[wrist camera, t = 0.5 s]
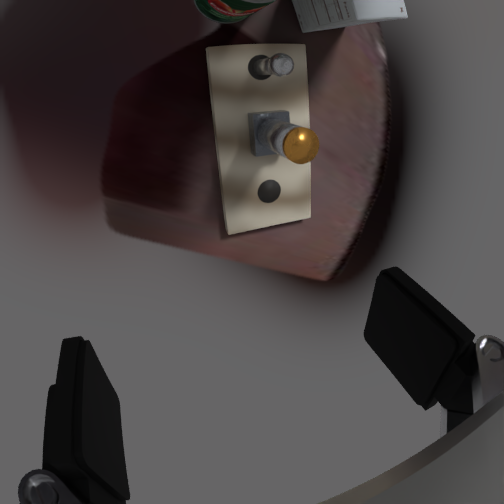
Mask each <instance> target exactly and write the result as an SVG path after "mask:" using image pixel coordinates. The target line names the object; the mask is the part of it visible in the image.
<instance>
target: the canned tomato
mask: <svg viewBox="0 0 504 504" xmlns="http://www.w3.org/2000/svg"><path fill="white" fill-rule="evenodd" d="M274 1H276V0H194V3H195V6H196V7H197V9H198V10H199V12H200V13H201V14H202V15H204V16H205V17H206V18H208V19H210V20H212V21H215V22H218V23H235V22H239V21H241V20H244V19H245V18H247V17H249V16H250V15H252V14H253V13H255V12H257V11H258V10H260V9H262V8H263V7H265V6H267V5H269V4H270V3H272V2H274Z"/></svg>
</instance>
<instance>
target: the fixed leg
mask: <svg viewBox="0 0 504 504" xmlns="http://www.w3.org/2000/svg"><path fill="white" fill-rule="evenodd" d="M293 69H294V62H293V60H292V58H291V57H290V56H289V55H287V54H284V53H277V54H274V55H273V56H272V57H270V58H265V59H260V60H257V61H256V62H255V63H254V64H253V70H254V72H255V73H256V74H258V75H275V76H278V77H285V76H287V75H289V74H290V73H291V72H292V71H293Z"/></svg>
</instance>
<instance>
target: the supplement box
mask: <svg viewBox="0 0 504 504" xmlns="http://www.w3.org/2000/svg"><path fill="white" fill-rule="evenodd" d="M292 2H293V5H294V8H295V11H296V14H297V18H298V21H299V24H300V27H301V30H302V32H303V33H306V32H313V31H321V30H328V29H335V28H341V27H347V26H353V25H358V24H364V23H371V22H379V21H386V20H394V19H405V18H408V16H407V12H406V8H405V4H404V0H292Z"/></svg>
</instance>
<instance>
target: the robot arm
mask: <svg viewBox="0 0 504 504" xmlns="http://www.w3.org/2000/svg"><path fill="white" fill-rule="evenodd" d="M474 337H475V334H474V333H473V332H471V331H470V330H469V329H468V328H467V327H466V326H465V325H464V324H463V323H462V322H461V321H460V320H458V319H457V318H456V317H455V316H454V315H453V314H452V313H451V312H450V311H449V310H447V309H446V308H445V307H444V306H443V305H442V304H441V303H440V302H438V301H437V300H436V299H435V298H434V297H433V296H432V295H430V294H429V293H428V292H427V291H426V290H425V289H423V288H422V287H421V286H420V285H419V284H418V283H416V282H415V281H414V280H413V279H412V278H410V277H409V276H408V275H407V274H406V273H404V272H403V271H402V270H401V269H400V268H398V267H391V268H388V269H384V270H382V271H381V272H380V274H379V276H378V277H377V279H376V283H375V287H374V292H373V297H372V301H371V306H370V309H369V314H368V318H367V322H366V326H365V330H364V338H365V340H366V342H367V343H368V344H369V345H370V347H371V348H372V349H373V351H375V353H376V354H377V355H378V357H379V358H380V359H381V360H382V362H383V363H384V364H385V365H386V366H387V368H388V369H389V370H390V371H391V373H392V374H393V375H394V376H395V378H396V379H397V380H398V381H399V382H400V384H401V385H402V386H403V388H404V389H405V390H406V391H407V392H408V394H409V395H410V396H411V397H412V399H413V400H414V401H415V402H416V404H418V405H421V406H422V407H423V408H424V409H425V410H427V409H429V408H431V407H432V406H434V405H435V404H436V403H437V402H439V403H440V404H441V428H440V439H438V440H437V441H436V442H434V443H432V444H431V445H430V446H428V447H426V448H425V449H423V450H422V451H420V452H418V453H417V454H415V455H414V456H412V457H410V458H409V459H407V460H406V461H404V462H402V463H400V464H399V465H397V466H395V467H393V468H392V469H390V470H388V471H386V472H384V473H382V474H381V475H379V476H377V477H375V478H373V479H371V480H369V481H367V482H365V483H363V484H361V485H359V486H357V487H355V488H353V489H351V490H348V491H346V492H344V493H342V494H340V495H337V496H335V497H333V498H330V499H328V500H326V501H323V502H321V503H318V504H504V342H503V341H501V340H500V339H499V338H497V337H495V336H491V335H484V336H481V337H479V338H478V339H477V341H476V343H474V342H473V339H474ZM121 427H122V426H121V414H120V402H119V398H118V396H117V394H116V392H115V390H114V388H113V386H112V385H111V383H110V381H109V379H108V377H107V375H106V373H105V371H104V369H103V367H102V365H101V363H100V361H99V360H98V357H97V355H96V353H95V351H94V349H93V347H92V345H91V343H90V341H89V340H86V341H84V339H83V338H82V337H81V336H78V337H72V338H66V339H63V341H62V345H61V352H60V358H59V364H58V371H57V378H56V384H54V385H51V386H50V388H49V391H48V398H47V407H46V416H45V427H44V441H43V464H42V469H36V470H32V471H30V472H28V473H27V474H25V476H24V477H23V478H22V479H21V481H20V484H19V486H18V497H19V501H20V504H126V501H125V500H129V499H130V492H129V485H128V479H127V472H126V464H125V456H124V447H123V437H122V428H121Z"/></svg>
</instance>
